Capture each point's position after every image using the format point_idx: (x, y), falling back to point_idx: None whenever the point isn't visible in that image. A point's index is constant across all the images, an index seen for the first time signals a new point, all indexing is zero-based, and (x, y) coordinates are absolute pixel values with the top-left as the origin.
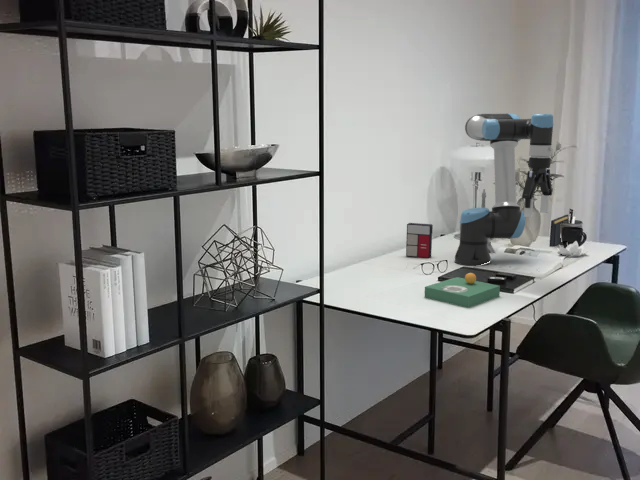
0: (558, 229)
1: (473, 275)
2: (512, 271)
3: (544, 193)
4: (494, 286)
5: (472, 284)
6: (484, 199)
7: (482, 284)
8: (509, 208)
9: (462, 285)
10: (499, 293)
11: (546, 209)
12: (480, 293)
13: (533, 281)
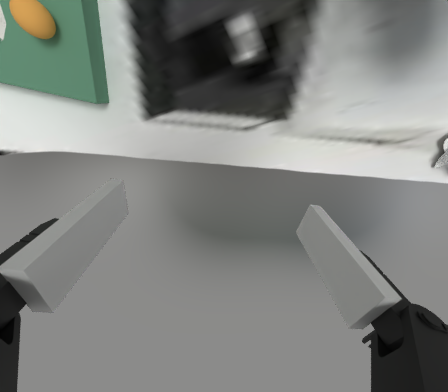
0: None
1: (24, 28)
2: (327, 53)
3: (401, 330)
4: (82, 94)
5: None
6: None
7: (71, 60)
8: None
9: None
10: (106, 102)
11: (304, 242)
12: (13, 84)
13: (252, 127)
